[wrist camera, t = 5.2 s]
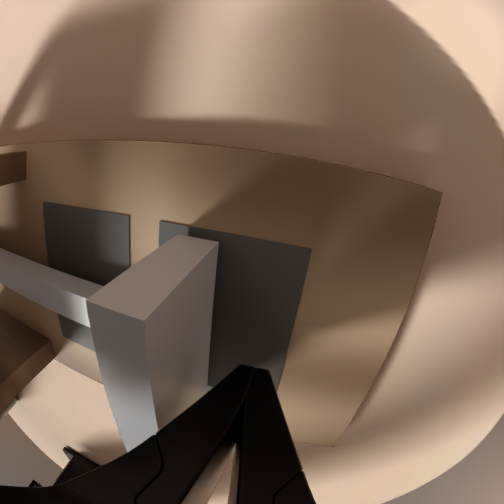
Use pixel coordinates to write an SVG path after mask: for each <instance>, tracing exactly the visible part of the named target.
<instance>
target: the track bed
mask: <svg viewBox="0 0 504 504" xmlns="http://www.w3.org/2000/svg"><path fill="white" fill-rule="evenodd" d="M18 151H27V161H26V180H23V181H19V182H15V183H11V184H7V185H3V186H0V248H2V249H4V250H7V251H9V252H12V253H14V254H17V255H19V256H21V257H24V258H26V259H29V260H32V261H34V262H37V263H39V264H42V265H45V266H47V267H50V268H53V269H55V270H58V271H61V272H64V273H66V274H69V275H72V276H75V277H78V278H81V279H84V280H87V281H90V282H93V283H96V284H99V285H102V286H105V285H107V284H108V283H109V282H111V281H112V280H113V279H115V278H116V277H118V276H119V275H120V274H122V273H123V272H124V271H126V270H127V269H129V268H130V267H131V266H133V265H134V264H136V263H137V262H139V261H140V260H141V259H143V258H144V257H146V256H147V255H149V254H150V253H151V252H153V251H154V250H156V249H157V248H159V247H160V246H162V245H163V244H164V243H166V242H167V241H169V240H170V239H172V238H173V237H175V236H176V235H178V234H180V235H185V236H190V237H195V238H201V239H206V240H211V241H216V242H219V246H218V256H217V267H216V277H215V289H214V300H213V312H212V325H211V338H210V352H209V367H208V383H207V392H208V391H209V390H210V389H212V388H213V387H214V386H215V385H216V384H218V383H219V382H220V381H221V380H222V379H224V378H225V377H226V376H227V375H228V374H229V373H230V372H232V371H233V370H234V369H235V368H236V367H237V366H239V365H240V364H244V365H248V366H253V367H254V368H256V367H257V368H262V369H267V370H269V371H270V373H271V376H272V379H273V382H274V385H275V388H276V392H277V395H278V398H279V401H280V404H281V407H282V410H283V413H284V416H285V419H286V422H287V425H288V428H289V431H290V434H291V437H292V439H293V442H300V443H307V444H316V445H325V446H335V445H336V443H337V442H338V440H339V439H340V437H341V436H342V434H343V432H344V431H345V429H346V428H347V426H348V425H349V423H350V421H351V420H352V418H353V416H354V415H355V413H356V411H357V410H358V408H359V406H360V405H361V403H362V401H363V399H364V398H365V396H366V394H367V392H368V390H369V389H370V387H371V385H372V383H373V381H374V379H375V377H376V375H377V374H378V372H379V370H380V368H381V366H382V364H383V362H384V360H385V358H386V355H387V353H388V351H389V349H390V347H391V345H392V343H393V340H394V338H395V336H396V334H397V331H398V329H399V327H400V324H401V322H402V320H403V317H404V315H405V312H406V310H407V307H408V305H409V302H410V300H411V297H412V294H413V292H414V289H415V286H416V283H417V281H418V278H419V275H420V272H421V269H422V266H423V263H424V260H425V256H426V253H427V250H428V247H429V243H430V240H431V236H432V233H433V229H434V225H435V221H436V217H437V213H438V209H439V205H440V201H441V196H442V193H441V192H438V191H435V190H433V189H430V188H427V187H423V186H420V185H417V184H413V183H410V182H406V181H403V180H399V179H395V178H391V177H388V176H384V175H380V174H376V173H372V172H368V171H364V170H359V169H355V168H350V167H346V166H341V165H337V164H332V163H327V162H322V161H317V160H312V159H306V158H301V157H295V156H289V155H283V154H277V153H270V152H263V151H256V150H249V149H241V148H232V147H224V146H214V145H204V144H192V143H179V142H162V141H139V140H75V141H53V142H38V143H26V144H16V145H7V146H0V154H3V153H9V152H18ZM0 309H2V310H3V311H5V312H6V313H8V314H9V315H11V316H12V317H14V318H15V319H17V320H18V321H20V322H22V323H23V324H25V325H26V326H28V327H30V328H31V329H33V330H35V331H36V332H38V333H40V334H42V335H43V336H45V337H47V338H49V339H51V343H52V346H53V349H54V352H55V355H56V357H55V358H54V359H55V360H57V361H59V362H60V363H62V364H64V365H66V366H68V367H69V368H71V369H73V370H75V371H77V372H79V373H81V374H83V375H85V376H87V377H89V378H91V379H93V380H95V381H97V382H99V383H101V384H103V385H104V383H103V380H102V376H101V372H100V368H99V364H98V360H97V356H96V352H95V348H94V343H93V338H92V334H91V329H90V327H87V326H85V325H83V324H80V323H78V322H76V321H74V320H71V319H69V318H67V317H65V316H63V315H61V314H58V313H56V312H54V311H52V310H50V309H48V308H46V307H44V306H42V305H40V304H38V303H36V302H34V301H32V300H30V299H28V298H26V297H25V296H23V295H21V294H19V293H17V292H15V291H13V290H12V289H10V288H8V287H6V286H5V285H3V284H1V283H0Z"/></svg>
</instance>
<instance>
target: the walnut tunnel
mask: <svg viewBox="0 0 504 504" xmlns="http://www.w3.org/2000/svg"><path fill="white" fill-rule="evenodd" d="M26 161H27V151H18V152H9V153H3V154H0V186H3V185H7V184H11V183H15V182H19V181H23V180H26ZM55 357H56V355H55V352H54V349H53V346H52V343H51V339H49V338H47V337H45V336H43V335H42V334H40V333H38V332H36V331H35V330H33V329H31V328H30V327H28V326H26V325H25V324H23V323H22V322H20V321H18V320H17V319H15V318H14V317H12V316H11V315H9V314H8V313H6V312H5V311H3V310H2V309H0V411H1V410H2V409H3V408H4V407H5V406H6V405H7V404H8V403H9V402H10V401H11V400H12V399H13V398H14V397H15V396H16V395H17V394H18V393H19V392H20V391H21V390H22V389H23V388H24V387H25V386H26V385H27V384H28V383H29V382H30V381H31V380H32V379H33V378H34V377H35V376H36V375H37V374H38V373H39V372H40V371H42V370H43V369H44V368H45V367H46V366H47V365H48V364H49V363H50V362H51V361H52V360H53V359H54V358H55Z"/></svg>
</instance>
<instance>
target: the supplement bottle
mask: <svg viewBox="0 0 504 504" xmlns="http://www.w3.org/2000/svg"><path fill="white" fill-rule="evenodd" d="M15 404H16V396H15V397H14V398H13V399H12V400H11V401H10V402H9V403H8V404H7V405H6V406H5V407H4V408H3V409H2V410H1V411H0V420H1V419H2V418H3V417H4V416H5V415H6V414H7V413H8V412H9V410H10V409H11V408H12V407H13V406H14V405H15Z"/></svg>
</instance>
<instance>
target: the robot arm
mask: <svg viewBox="0 0 504 504" xmlns="http://www.w3.org/2000/svg"><path fill="white" fill-rule="evenodd" d="M235 443H236V445H235ZM234 446H235V453H234V460H233V468H232V475H231V483H230V490H229V498H228V504H316V502H315V500H314V498H313V495H312V493H311V490H310V488H309V485H308V482H307V480H306V477H305V474H304V472H303V471H302V466H301V463H300V460H299V457H298V454H297V451H296V448H295V445H294V442H293V439H292V437H291V434H290V431H289V428H288V425H287V422H286V419H285V416H284V413H283V410H282V407H281V404H280V401H279V398H278V395H277V392H276V388H275V385H274V382H273V379H272V376H271V373H270V371H269V370H267V369H262V368H257V367H256V368H254V367H253V366H248V365H244V364H240V365H239V366H237V367H236V368H235V369H234V370H233V371H232V372H230V373H229V374H228V375H227V376H226V377H225V378H224V379H222V380H221V381H220V382H219V383H218V384H216V385H215V386H214V387H213V388H212V389H210V390H209V391H208V392H207V393H206V394H204V395H203V396H202V397H201V398H200V399H198V400H197V401H196V402H195V403H193V404H192V405H191V406H190V407H188V408H187V409H186V410H185V411H183V412H182V413H181V414H180V415H178V416H177V417H176V418H174V419H173V420H172V421H171V422H169V423H168V424H167V425H165V426H164V427H163V428H161V429H160V430H159V431H157V432H156V435H152V436H150V437H149V438H148V439H146V440H145V441H144V442H142V443H141V444H139V445H138V446H136V447H135V448H133V449H132V450H130V451H129V452H127V453H125V454H124V455H122V456H120V457H118V458H116V459H114V460H113V461H111V462H109V463H107V464H105V465H103V466H101V467H98V466H96V465H94V464H93V463H91V462H89V461H87V460H86V459H84V458H82V457H80V456H79V455H77V454H75V453H74V452H72V451H71V450H69V449H67V448H66V447H64V448H63V451H64V453H65V454H66V456H67V457H68V458H69V460H70V461H69V462H68V464H67V465H66V467H65V468H64V469H63V471H62V472H61V474H60V475H59V477H58V478H57V479H56V482H55V483H54V485H53V486H49V487H43V486H42V485H41V484H39V483H37V482H36V481H34V480H33V481H32V482H31V484H30V485H29V486H28V487H15V486H1V485H0V504H207V503H208V501H209V499H210V497H211V495H212V493H213V491H214V489H215V487H216V485H217V483H218V481H219V478H220V476H221V474H222V472H223V470H224V468H225V466H226V463H227V461H228V459H229V457H230V455H231V453H232V450H233V448H234Z"/></svg>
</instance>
